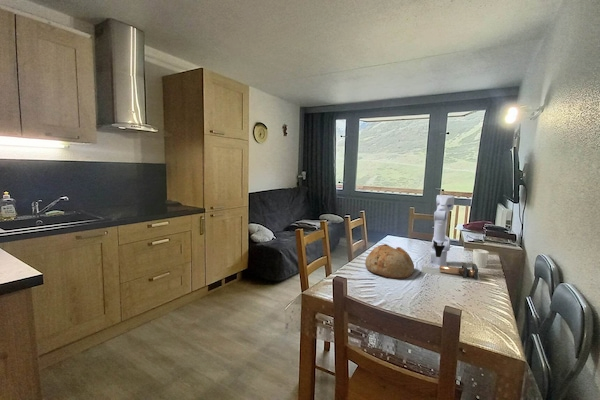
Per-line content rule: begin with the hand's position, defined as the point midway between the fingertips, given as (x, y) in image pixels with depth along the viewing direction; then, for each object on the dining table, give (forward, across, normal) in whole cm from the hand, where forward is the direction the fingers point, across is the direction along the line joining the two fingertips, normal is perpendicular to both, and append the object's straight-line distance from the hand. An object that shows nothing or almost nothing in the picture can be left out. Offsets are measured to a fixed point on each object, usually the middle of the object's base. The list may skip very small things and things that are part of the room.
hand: (437, 254), depth 158 cm
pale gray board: (+10, 0, -6) cm, 12 cm away
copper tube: (+10, 0, -10) cm, 14 cm away
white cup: (+10, +21, -24) cm, 34 cm away
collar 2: (+10, 0, -18) cm, 21 cm away
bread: (+11, -10, +25) cm, 29 cm away
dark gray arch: (+10, 0, -14) cm, 17 cm away
